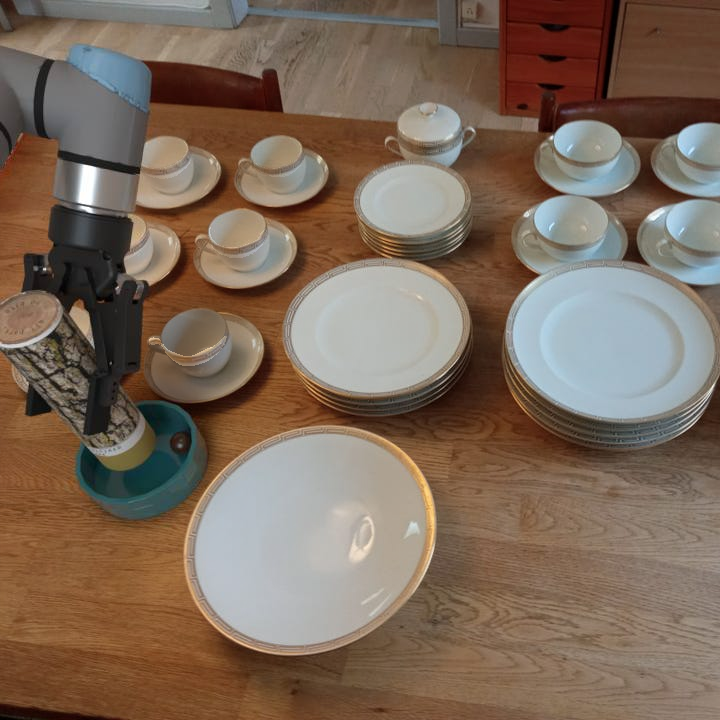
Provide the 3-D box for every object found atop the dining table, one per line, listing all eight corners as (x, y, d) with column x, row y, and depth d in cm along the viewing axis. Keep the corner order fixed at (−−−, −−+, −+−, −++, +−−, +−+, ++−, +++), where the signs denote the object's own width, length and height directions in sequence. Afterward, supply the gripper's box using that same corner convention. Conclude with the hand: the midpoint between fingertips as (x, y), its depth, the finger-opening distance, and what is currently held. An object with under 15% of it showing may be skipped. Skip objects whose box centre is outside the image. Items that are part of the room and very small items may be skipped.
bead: (169, 455, 92) (161, 443, 90) (183, 436, 94) (174, 423, 91) (190, 462, 91) (181, 450, 89) (203, 442, 93) (195, 430, 91)
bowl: (67, 499, 90) (49, 482, 86) (136, 407, 98) (123, 388, 94) (166, 534, 87) (151, 518, 83) (229, 436, 95) (218, 417, 91)
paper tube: (155, 468, 88) (53, 339, 68) (97, 477, 87) (-23, 349, 67) (161, 421, 92) (66, 285, 72) (105, 429, 91) (-6, 295, 71)
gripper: (200, 232, 76) (167, 440, 80) (45, 193, 80) (22, 393, 84) (150, 227, 69) (117, 457, 73) (-17, 185, 73) (-39, 404, 77)
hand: (66, 422), depth 78 cm, fingers closed on paper tube, 7 cm apart
